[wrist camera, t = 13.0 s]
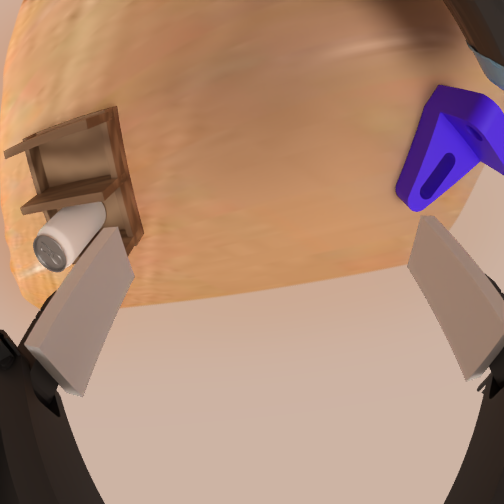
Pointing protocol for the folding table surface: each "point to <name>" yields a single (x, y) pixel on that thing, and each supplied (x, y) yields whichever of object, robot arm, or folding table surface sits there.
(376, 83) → the folding table surface
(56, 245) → the can
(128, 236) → the rack
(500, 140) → the bracket
